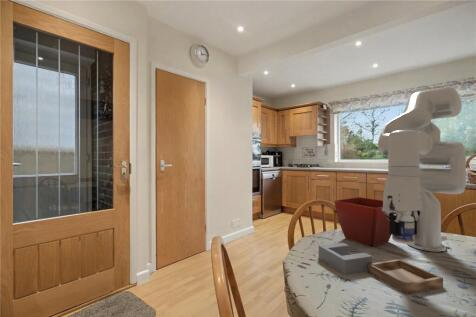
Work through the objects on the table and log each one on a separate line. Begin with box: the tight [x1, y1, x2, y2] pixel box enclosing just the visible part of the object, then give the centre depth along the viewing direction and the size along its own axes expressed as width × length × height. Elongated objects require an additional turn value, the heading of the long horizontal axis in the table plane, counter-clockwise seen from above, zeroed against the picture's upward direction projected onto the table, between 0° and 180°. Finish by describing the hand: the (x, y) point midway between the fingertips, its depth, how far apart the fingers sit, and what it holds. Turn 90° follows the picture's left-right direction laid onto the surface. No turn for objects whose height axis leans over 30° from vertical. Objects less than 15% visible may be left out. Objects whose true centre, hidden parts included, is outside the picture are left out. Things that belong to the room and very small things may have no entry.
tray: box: [367, 258, 444, 295], centre depth 71 cm, size 13×13×2 cm
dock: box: [318, 242, 373, 276], centre depth 81 cm, size 10×13×4 cm
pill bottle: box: [391, 211, 414, 245], centre depth 71 cm, size 5×5×10 cm
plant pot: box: [334, 196, 396, 247], centre depth 105 cm, size 19×19×17 cm
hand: (403, 233), depth 71 cm, fingers closed on pill bottle, 5 cm apart
